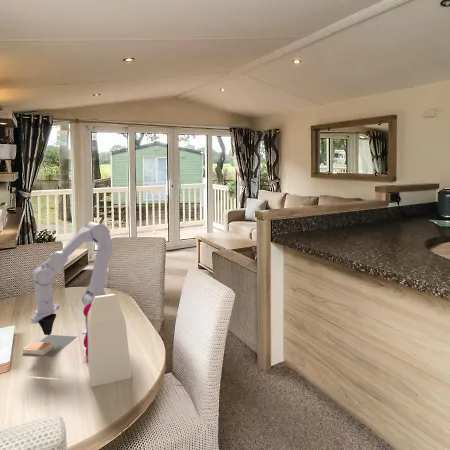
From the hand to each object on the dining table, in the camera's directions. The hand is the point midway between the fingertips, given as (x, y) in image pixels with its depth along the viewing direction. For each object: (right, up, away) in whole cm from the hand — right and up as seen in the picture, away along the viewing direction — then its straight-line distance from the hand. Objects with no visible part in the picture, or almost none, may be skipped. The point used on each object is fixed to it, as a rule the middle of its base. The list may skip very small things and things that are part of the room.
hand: (47, 334), depth 144 cm
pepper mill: (+20, -5, -7) cm, 22 cm away
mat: (+2, -4, -1) cm, 5 cm away
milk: (+29, -7, -20) cm, 36 cm away
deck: (-1, -3, -2) cm, 4 cm away
